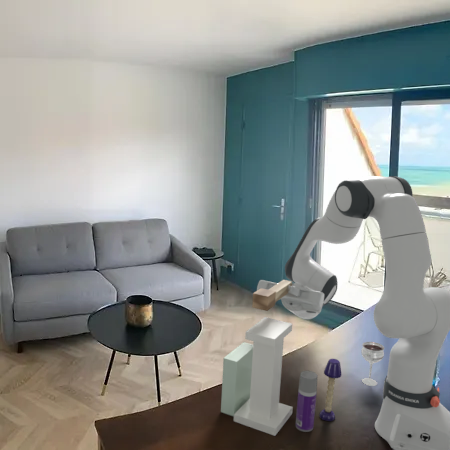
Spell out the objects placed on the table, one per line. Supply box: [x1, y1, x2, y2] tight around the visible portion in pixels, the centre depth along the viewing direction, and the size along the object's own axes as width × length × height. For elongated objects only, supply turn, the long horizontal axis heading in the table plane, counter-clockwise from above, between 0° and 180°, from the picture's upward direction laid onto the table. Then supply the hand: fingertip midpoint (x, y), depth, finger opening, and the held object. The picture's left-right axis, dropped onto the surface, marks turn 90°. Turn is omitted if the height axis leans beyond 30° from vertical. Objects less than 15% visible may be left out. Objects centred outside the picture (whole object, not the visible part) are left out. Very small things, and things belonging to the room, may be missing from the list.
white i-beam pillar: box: [233, 316, 294, 436], centre depth 138 cm, size 12×12×26 cm
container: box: [295, 370, 318, 433], centre depth 136 cm, size 5×5×15 cm
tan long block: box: [251, 279, 293, 312], centre depth 145 cm, size 4×19×4 cm, turn 151°
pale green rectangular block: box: [220, 341, 253, 417], centre depth 145 cm, size 4×12×16 cm, turn 152°
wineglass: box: [361, 341, 385, 387], centre depth 161 cm, size 7×7×12 cm
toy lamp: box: [318, 358, 342, 422], centre depth 141 cm, size 5×5×17 cm
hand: (282, 287), depth 150 cm, fingers closed on tan long block, 3 cm apart
